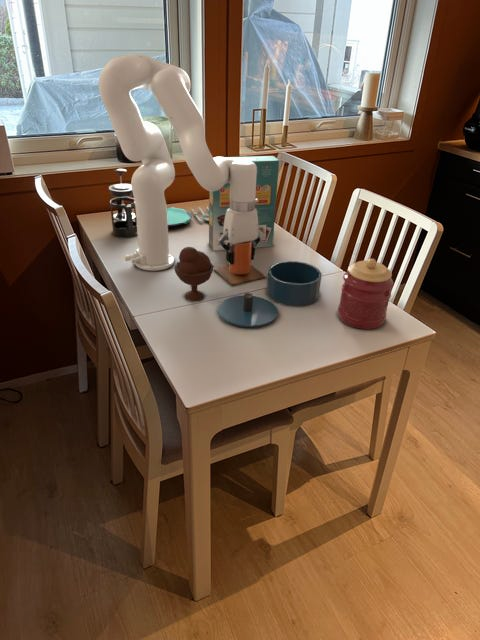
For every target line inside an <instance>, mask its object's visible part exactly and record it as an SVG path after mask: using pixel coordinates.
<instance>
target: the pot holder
mask: <svg viewBox="0 0 480 640" xmlns="http://www.w3.org/2000/svg"><path fill="white" fill-rule="evenodd" d="M213 272H215V273H217V275H218V276H220V277H221V278H222V279H223V280H225V281H226V282H227V283H228V284H229V285H230V286H233V287H234V286H237V285H242V284H246V283H250V282H255V281H259V280H263V279H266V276H265V275H264V274H263V273H262V272H261V271H259V270H258V269H257V268H255V267H254V266H253V265H251V270H250V272H249V273H247V274H235V273H232V272H231V271H230V264H228V265H224V266H218V267H215V268H213Z"/></svg>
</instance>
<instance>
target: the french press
mask: <svg viewBox="0 0 480 640" xmlns="http://www.w3.org/2000/svg"><path fill="white" fill-rule="evenodd" d="M113 172H114V173H117V174H118V175H119V178H120V183H115V184H111V185H109V186H108V190H109V192H110V195H111V196H112V197H114V198H111V199H110V200H109V207H110V218H111V225H112V226H111V227H112V232H111V234H112V235H113V236H114V237H117V238H121V239H122V238H124V239H125V238H126V239H127V238H132V237H135V236H138V232H137V219H136V208H135V201H134V197H132V196H133V192H132V187H131V183H123V181H122V180H123V179H122V176H123V173H126V172H127V169H125V168H117V169H114V170H113ZM124 202H132V203H129V204H125V203H124ZM114 209H116V210H117V212H116V213H114ZM133 211H134V212H133Z"/></svg>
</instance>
